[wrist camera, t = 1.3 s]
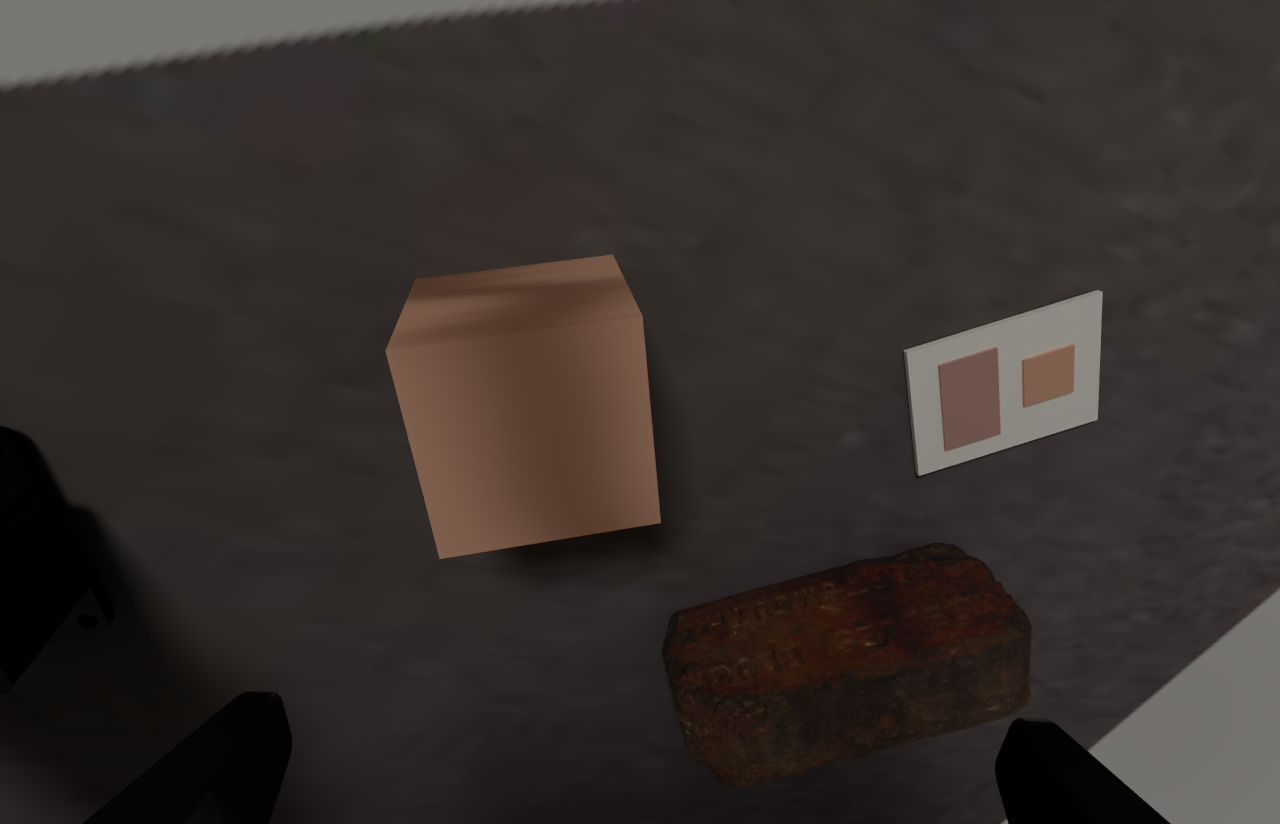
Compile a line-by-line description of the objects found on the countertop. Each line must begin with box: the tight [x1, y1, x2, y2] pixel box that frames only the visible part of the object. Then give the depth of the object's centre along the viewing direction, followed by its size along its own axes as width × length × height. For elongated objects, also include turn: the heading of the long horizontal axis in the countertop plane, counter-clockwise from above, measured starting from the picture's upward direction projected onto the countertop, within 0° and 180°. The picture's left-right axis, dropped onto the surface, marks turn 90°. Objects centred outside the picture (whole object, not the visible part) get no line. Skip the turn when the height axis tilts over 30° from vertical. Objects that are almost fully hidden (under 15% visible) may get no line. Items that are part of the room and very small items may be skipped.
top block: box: [386, 255, 661, 559], centre depth 18 cm, size 5×5×5 cm
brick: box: [662, 543, 1031, 788], centre depth 24 cm, size 11×4×5 cm, turn 103°
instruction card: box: [903, 290, 1103, 476], centre depth 22 cm, size 6×4×1 cm
